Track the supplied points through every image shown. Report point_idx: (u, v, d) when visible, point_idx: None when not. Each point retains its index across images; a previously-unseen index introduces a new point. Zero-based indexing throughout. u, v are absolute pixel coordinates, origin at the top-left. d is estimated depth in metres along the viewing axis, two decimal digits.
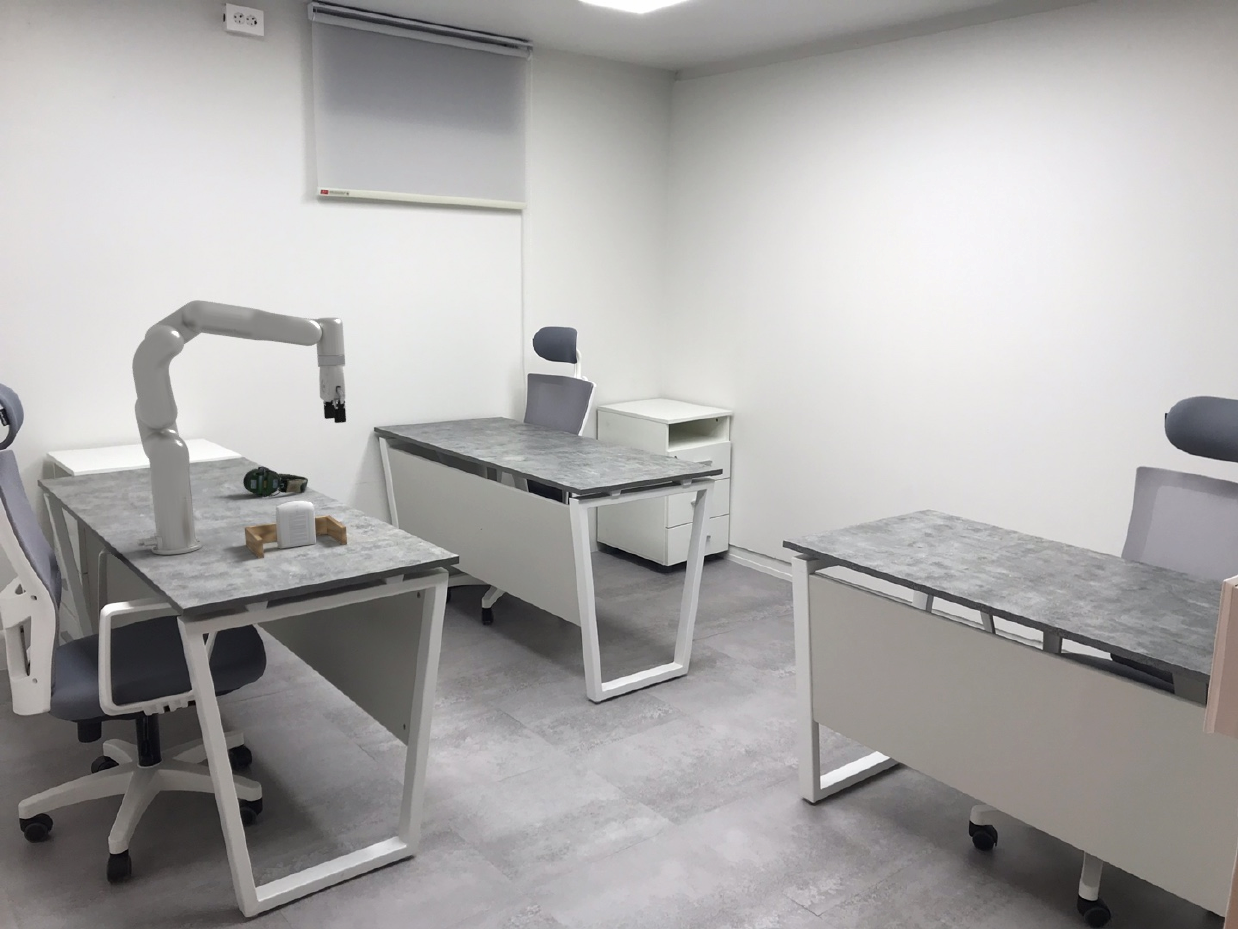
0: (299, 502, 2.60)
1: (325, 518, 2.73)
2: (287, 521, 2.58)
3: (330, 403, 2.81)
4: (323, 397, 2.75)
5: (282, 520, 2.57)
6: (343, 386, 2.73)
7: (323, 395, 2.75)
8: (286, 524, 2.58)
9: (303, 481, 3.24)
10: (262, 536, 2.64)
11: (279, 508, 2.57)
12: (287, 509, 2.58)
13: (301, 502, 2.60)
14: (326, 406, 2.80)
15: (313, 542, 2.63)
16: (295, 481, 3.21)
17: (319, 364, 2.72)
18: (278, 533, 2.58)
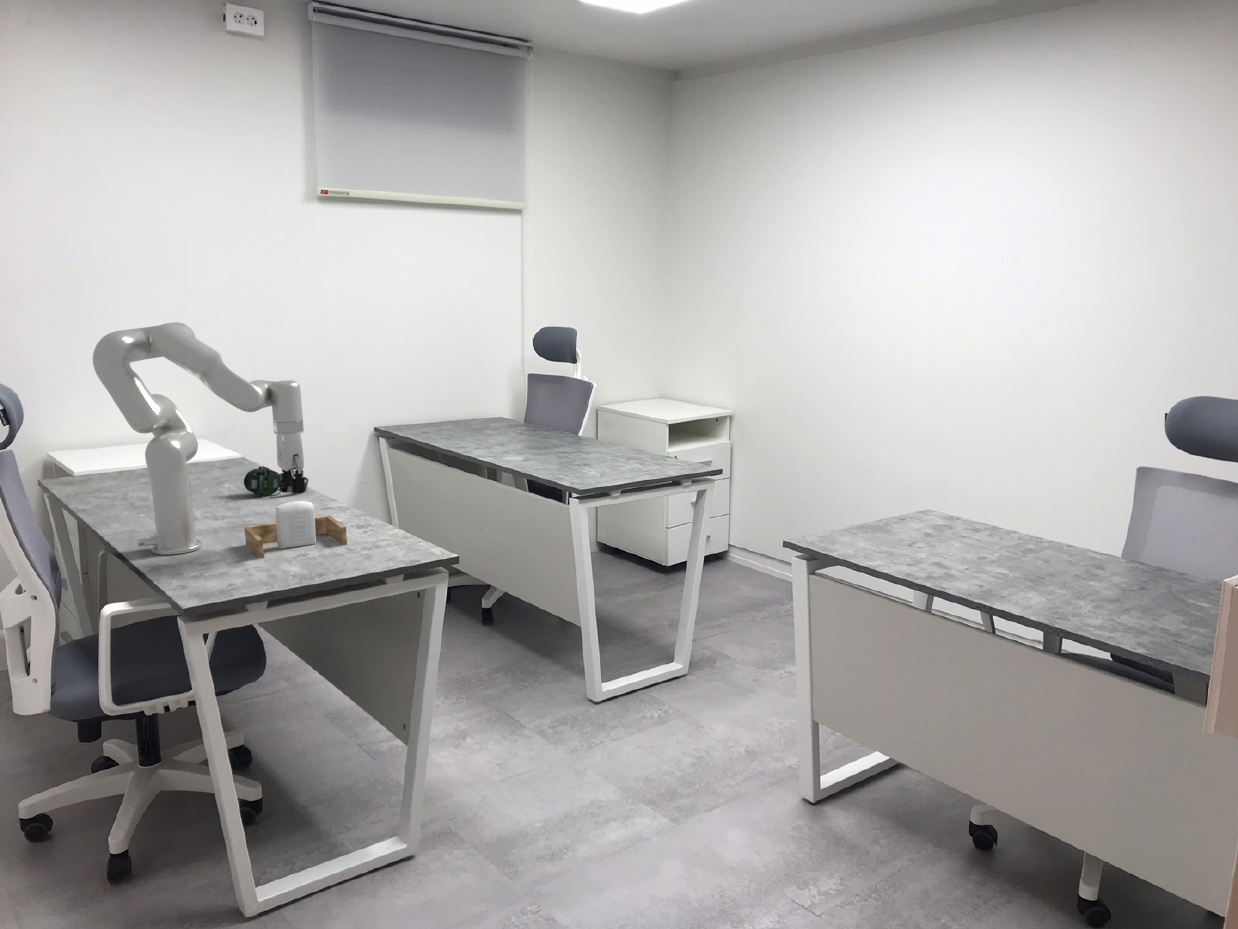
0: (299, 502, 2.60)
1: (325, 518, 2.73)
2: (287, 521, 2.58)
3: (289, 470, 2.63)
4: (280, 465, 2.57)
5: (282, 521, 2.57)
6: (301, 454, 2.54)
7: (280, 463, 2.57)
8: (286, 524, 2.58)
9: (304, 481, 3.24)
10: (262, 536, 2.64)
11: (279, 508, 2.57)
12: (287, 509, 2.58)
13: (301, 502, 2.60)
14: (284, 474, 2.62)
15: (313, 542, 2.63)
16: None
17: (275, 431, 2.54)
18: (278, 533, 2.58)
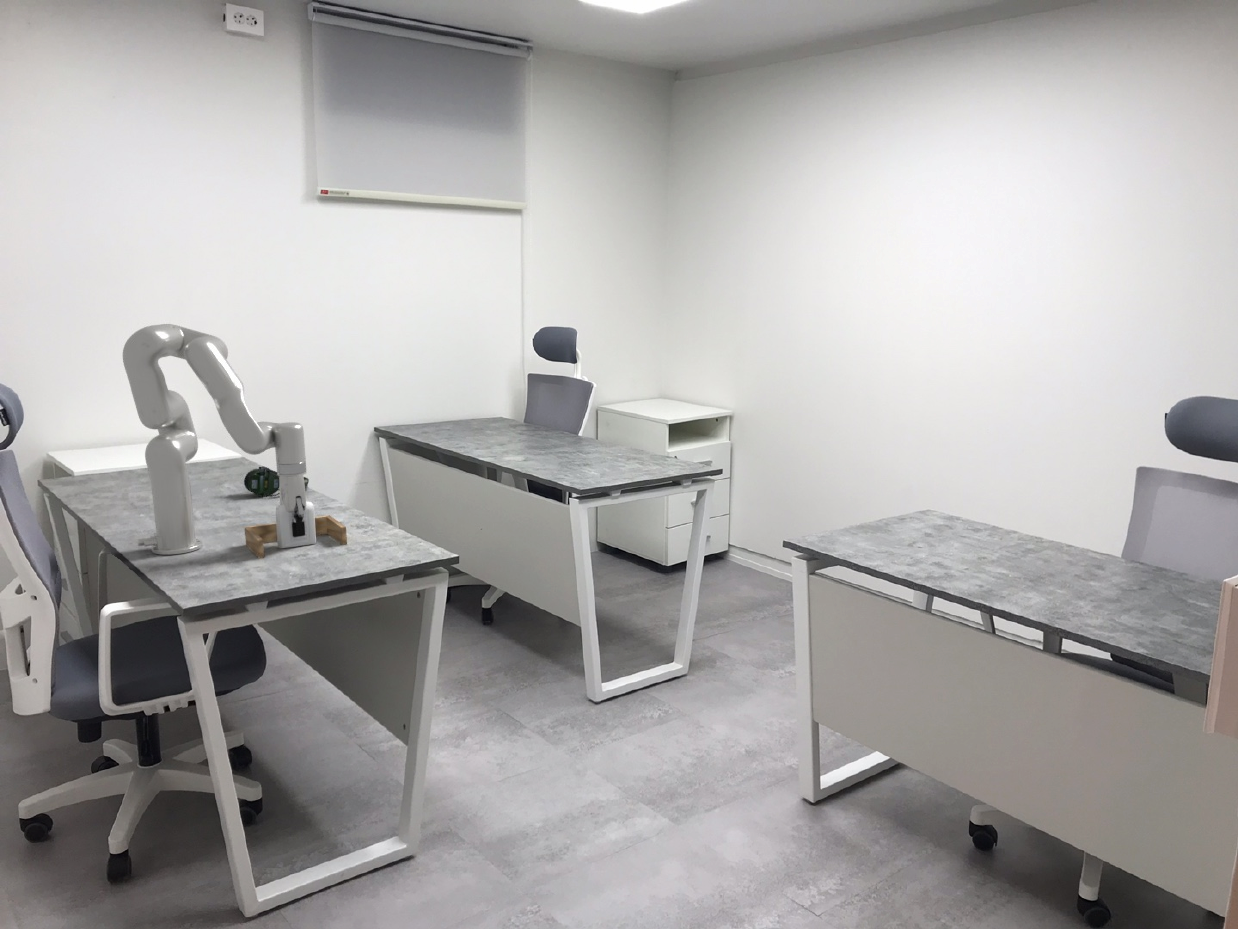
0: None
1: (325, 518, 2.73)
2: (287, 521, 2.58)
3: None
4: None
5: (282, 520, 2.57)
6: (304, 496, 2.57)
7: (283, 504, 2.59)
8: (286, 524, 2.58)
9: (304, 481, 3.24)
10: (262, 536, 2.64)
11: (279, 508, 2.57)
12: None
13: None
14: None
15: (313, 542, 2.63)
16: None
17: (278, 473, 2.56)
18: (278, 533, 2.58)
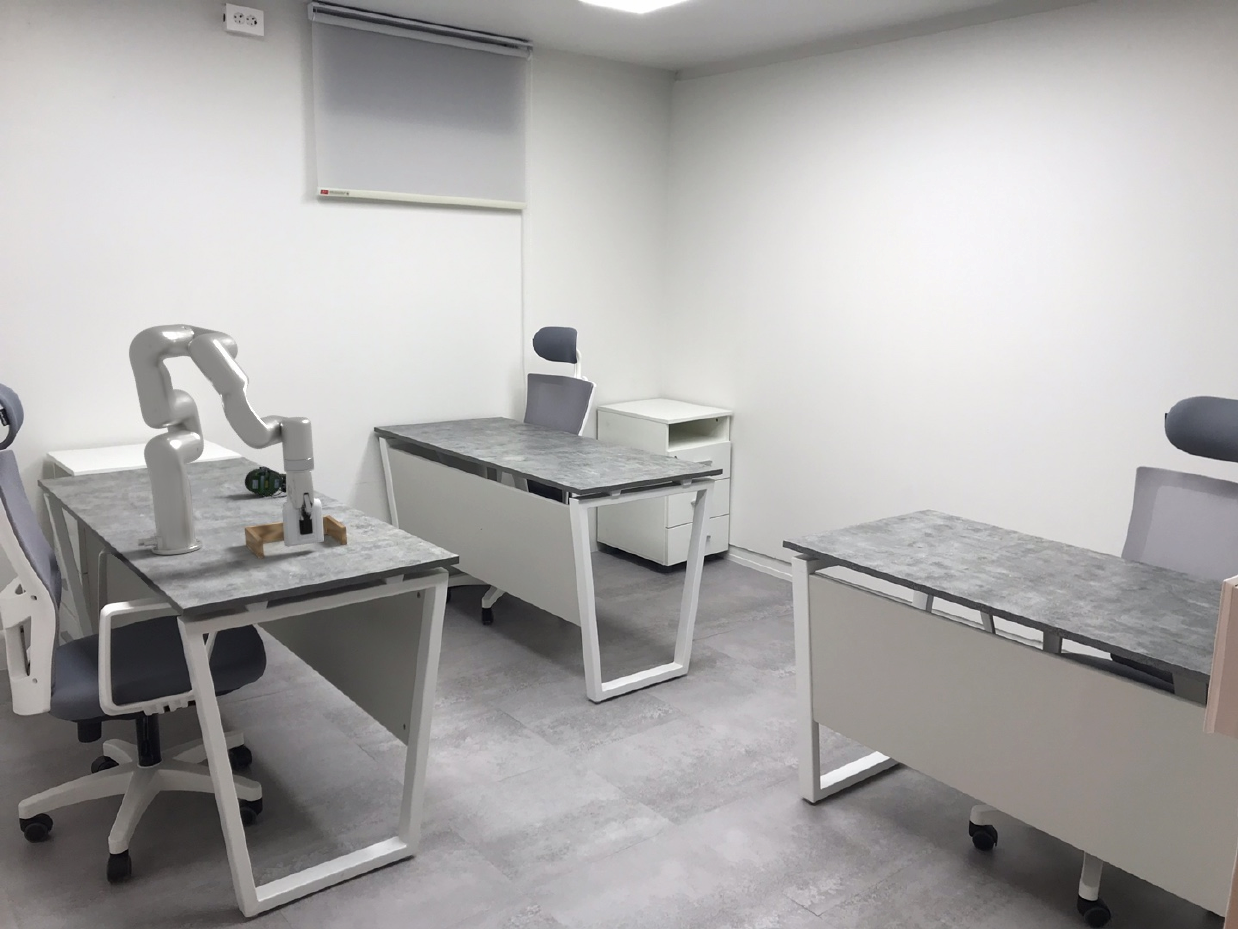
0: None
1: (325, 518, 2.73)
2: (295, 518, 2.51)
3: None
4: None
5: (289, 518, 2.50)
6: (312, 492, 2.49)
7: (290, 501, 2.52)
8: (293, 521, 2.51)
9: None
10: (262, 536, 2.64)
11: (286, 505, 2.50)
12: None
13: None
14: None
15: (321, 540, 2.56)
16: None
17: (285, 469, 2.49)
18: (285, 531, 2.51)
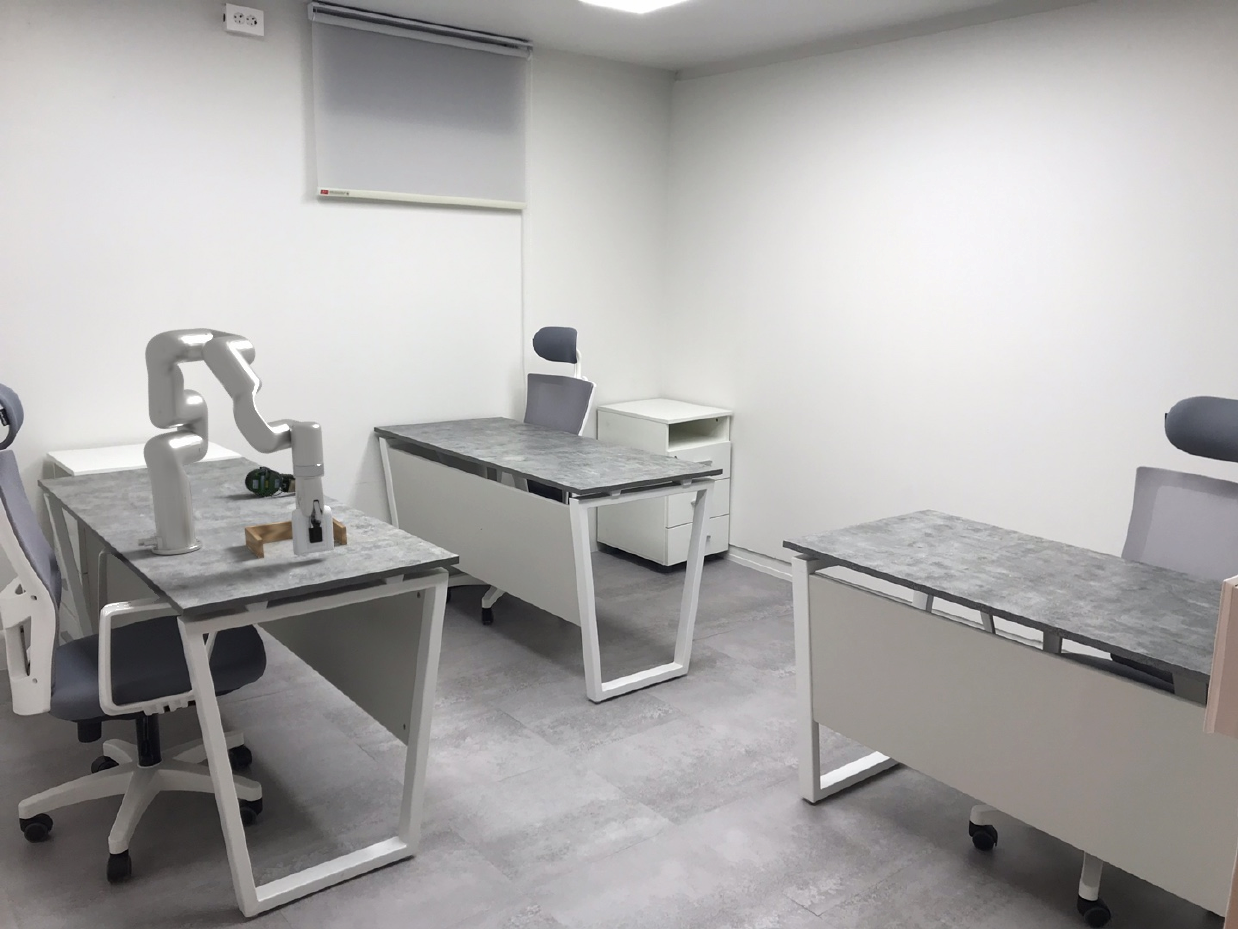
0: None
1: None
2: (304, 526, 2.43)
3: None
4: None
5: (299, 526, 2.43)
6: (322, 499, 2.42)
7: None
8: (303, 529, 2.43)
9: None
10: (262, 536, 2.64)
11: (295, 512, 2.42)
12: None
13: None
14: None
15: (331, 548, 2.48)
16: None
17: (294, 475, 2.41)
18: (294, 539, 2.44)
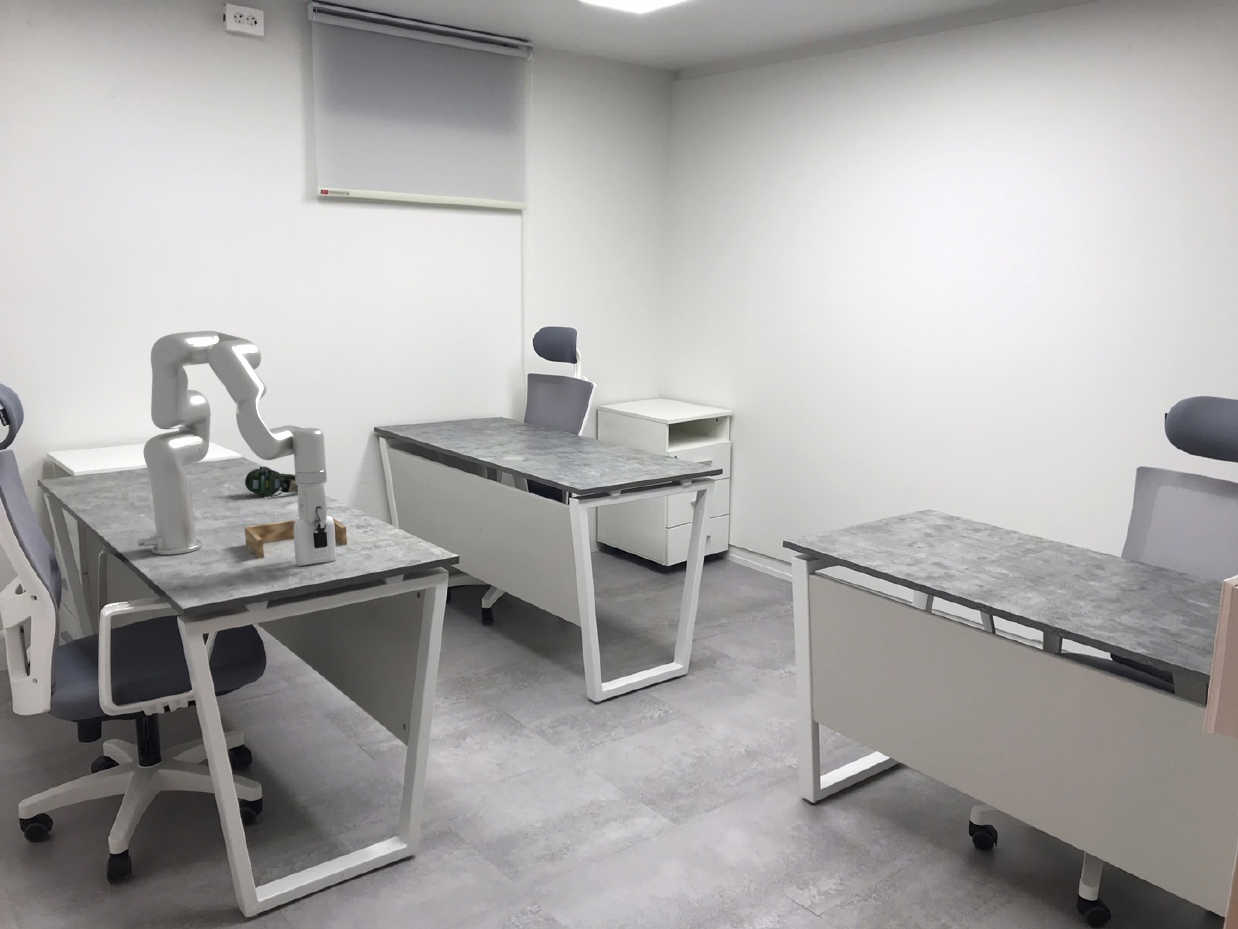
0: None
1: None
2: (306, 536, 2.43)
3: None
4: (302, 517, 2.43)
5: (301, 536, 2.42)
6: (324, 506, 2.41)
7: (302, 515, 2.43)
8: (305, 539, 2.42)
9: None
10: (262, 536, 2.64)
11: (297, 523, 2.42)
12: (306, 524, 2.42)
13: None
14: None
15: (333, 559, 2.47)
16: None
17: (297, 482, 2.40)
18: (296, 549, 2.43)
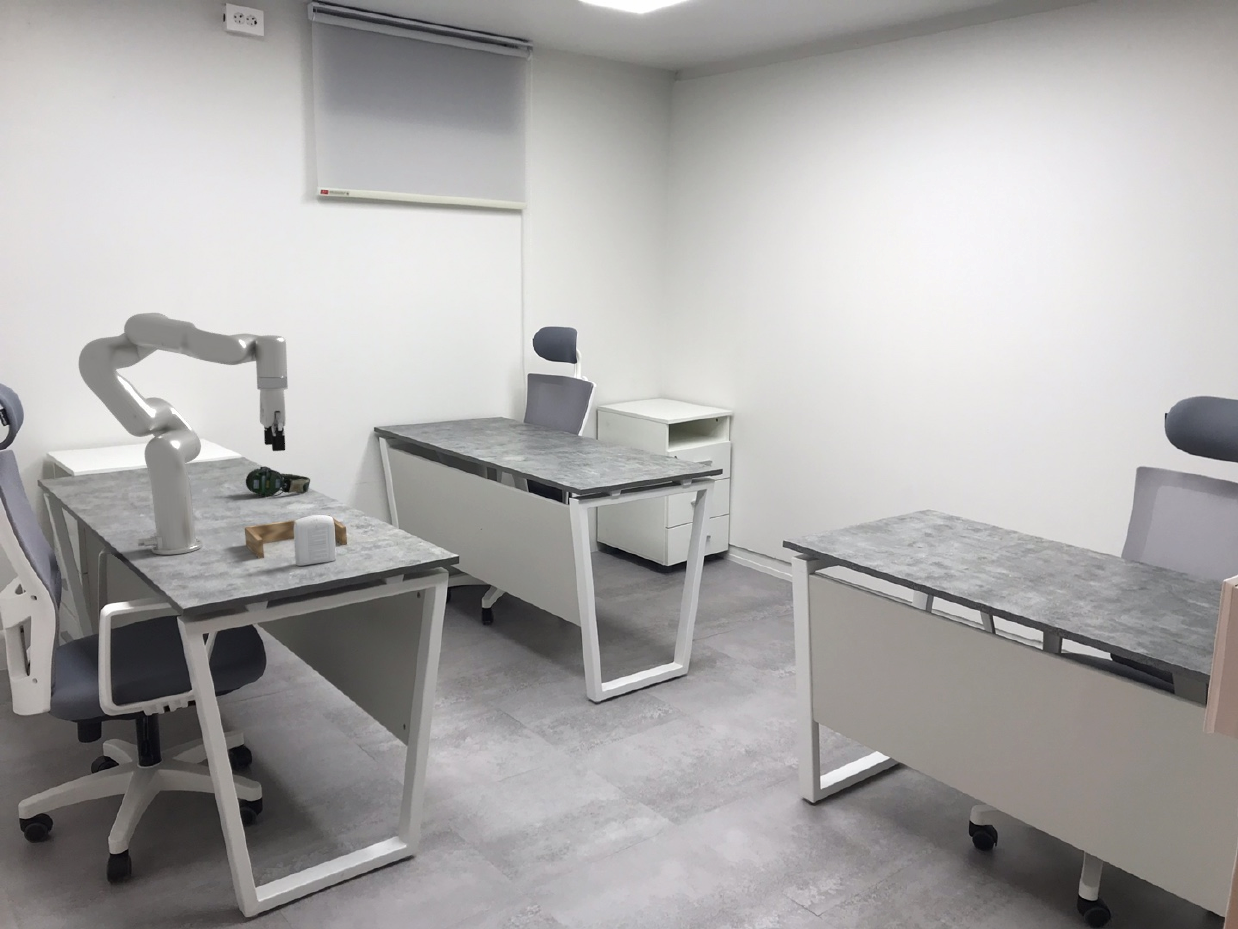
0: (318, 516, 2.45)
1: None
2: (306, 536, 2.43)
3: (271, 428, 2.57)
4: (262, 422, 2.52)
5: (301, 536, 2.42)
6: (283, 411, 2.49)
7: (262, 420, 2.52)
8: (305, 539, 2.42)
9: (306, 481, 3.24)
10: (262, 536, 2.64)
11: (297, 523, 2.42)
12: (306, 524, 2.42)
13: (321, 516, 2.45)
14: (266, 431, 2.57)
15: (333, 559, 2.47)
16: (298, 481, 3.21)
17: (258, 386, 2.49)
18: (296, 549, 2.43)
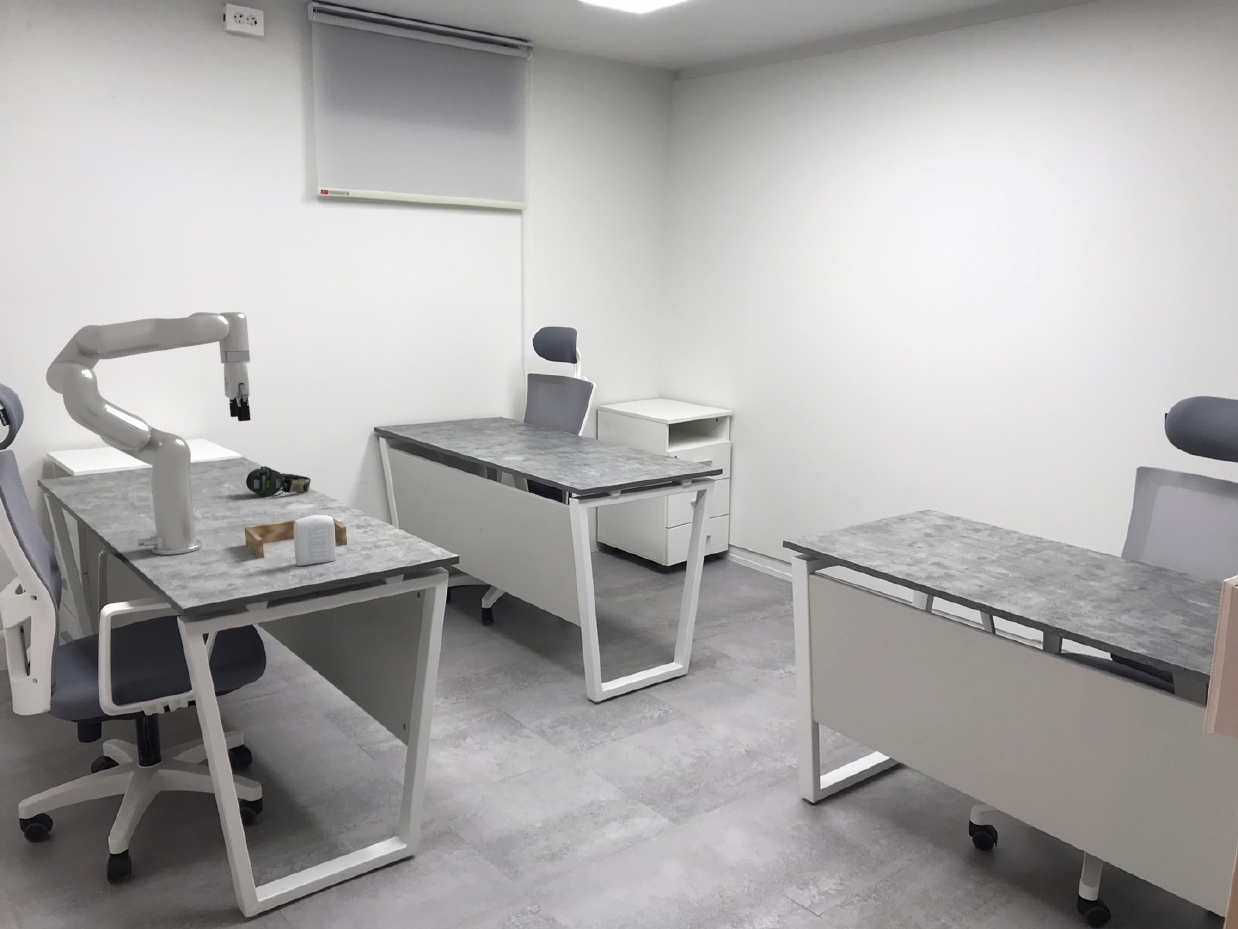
0: (318, 516, 2.45)
1: None
2: (306, 536, 2.43)
3: (236, 401, 2.71)
4: (227, 394, 2.66)
5: (301, 536, 2.42)
6: (247, 383, 2.63)
7: (227, 392, 2.66)
8: (305, 539, 2.42)
9: (306, 481, 3.24)
10: (262, 536, 2.64)
11: (297, 523, 2.42)
12: (306, 524, 2.42)
13: (321, 516, 2.45)
14: (232, 404, 2.71)
15: (333, 559, 2.47)
16: (298, 481, 3.21)
17: (222, 360, 2.63)
18: (296, 549, 2.43)
